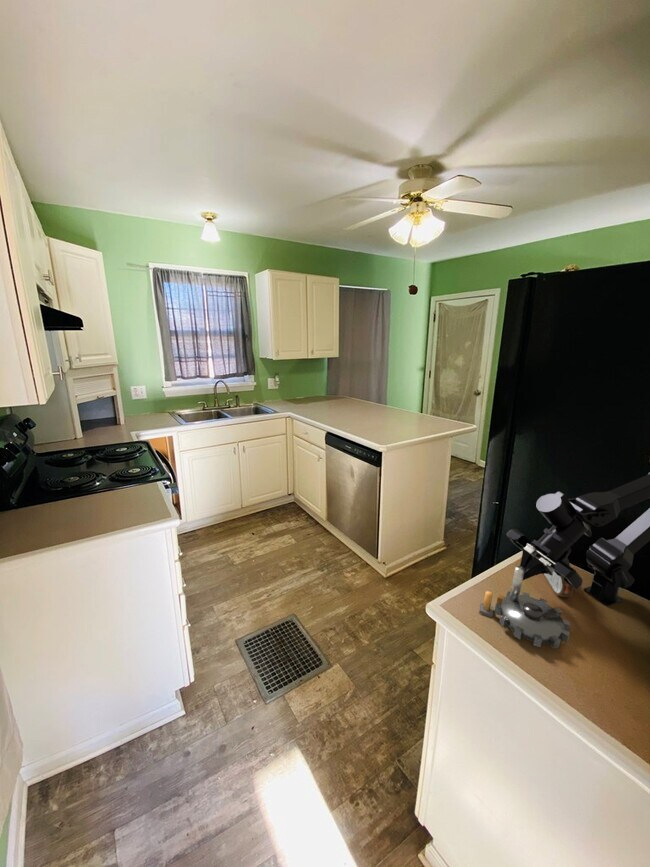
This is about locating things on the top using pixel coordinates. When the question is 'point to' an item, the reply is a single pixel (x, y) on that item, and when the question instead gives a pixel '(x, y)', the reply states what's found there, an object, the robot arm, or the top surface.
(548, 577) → the tin
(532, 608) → the sprocket
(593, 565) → the robot arm
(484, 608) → the rounded peg on base
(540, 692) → the top surface
